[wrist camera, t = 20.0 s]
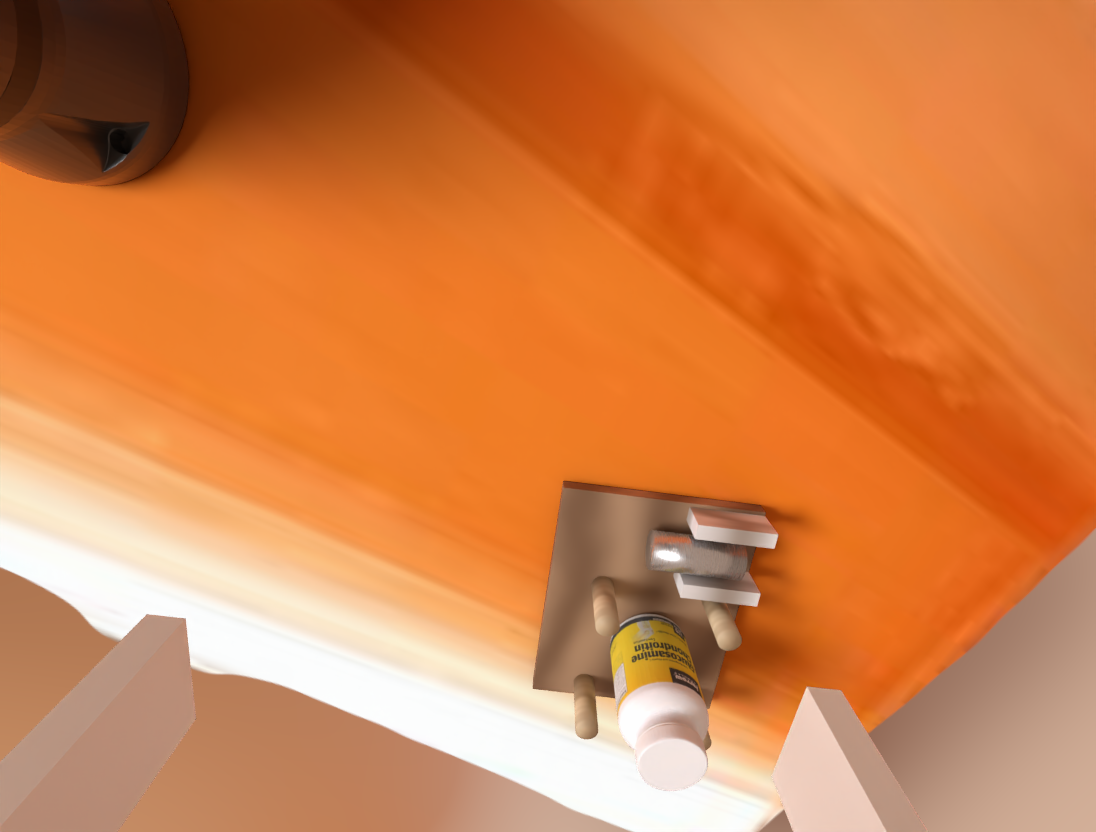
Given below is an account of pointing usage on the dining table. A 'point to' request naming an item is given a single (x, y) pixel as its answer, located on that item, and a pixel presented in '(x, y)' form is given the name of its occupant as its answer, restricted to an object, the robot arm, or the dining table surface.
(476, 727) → the dining table surface
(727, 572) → the pin
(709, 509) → the board
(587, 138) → the dining table surface
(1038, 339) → the dining table surface
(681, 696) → the pill bottle
